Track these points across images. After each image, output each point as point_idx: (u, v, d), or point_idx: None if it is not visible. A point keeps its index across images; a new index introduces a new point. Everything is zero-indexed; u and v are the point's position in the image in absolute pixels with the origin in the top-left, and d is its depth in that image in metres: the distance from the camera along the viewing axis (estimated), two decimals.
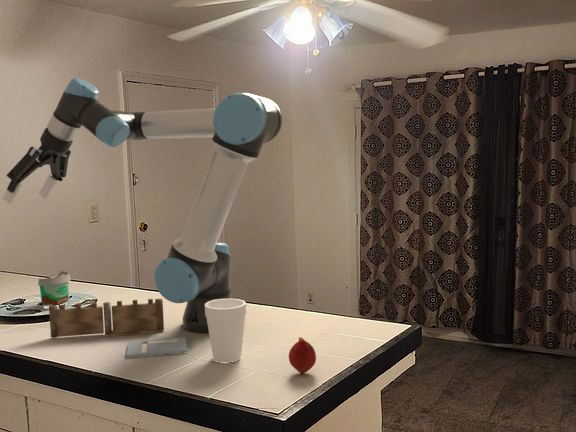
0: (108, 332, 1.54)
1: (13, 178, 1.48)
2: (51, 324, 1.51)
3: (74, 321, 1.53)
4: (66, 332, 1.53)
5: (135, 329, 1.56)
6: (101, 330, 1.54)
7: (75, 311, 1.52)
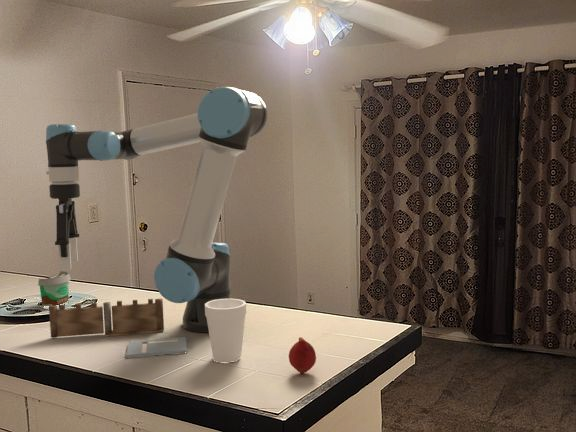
0: (108, 332, 1.54)
1: (65, 239, 1.49)
2: (51, 324, 1.51)
3: (74, 321, 1.53)
4: (66, 332, 1.53)
5: (135, 329, 1.56)
6: (101, 330, 1.54)
7: (75, 311, 1.52)
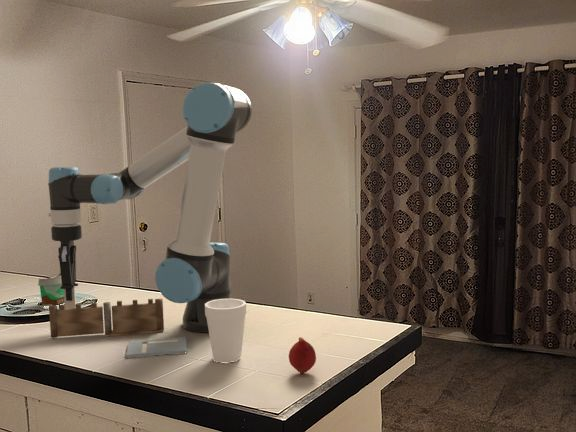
0: (108, 332, 1.54)
1: (70, 284, 1.55)
2: (51, 324, 1.51)
3: (74, 321, 1.53)
4: (66, 332, 1.53)
5: (135, 329, 1.56)
6: (101, 330, 1.54)
7: (75, 311, 1.52)
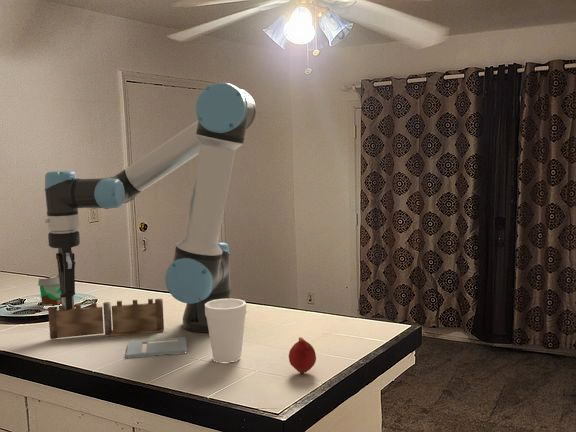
0: (108, 332, 1.54)
1: (73, 292, 1.50)
2: (51, 325, 1.50)
3: (74, 321, 1.52)
4: (65, 333, 1.52)
5: (135, 329, 1.56)
6: (101, 330, 1.54)
7: (75, 312, 1.52)
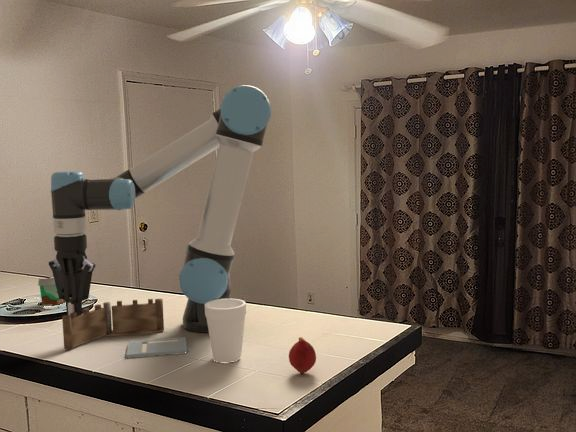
0: (108, 332, 1.54)
1: (87, 296, 1.45)
2: (68, 335, 1.42)
3: (85, 327, 1.47)
4: (79, 340, 1.46)
5: (135, 329, 1.56)
6: (105, 331, 1.53)
7: (86, 316, 1.47)
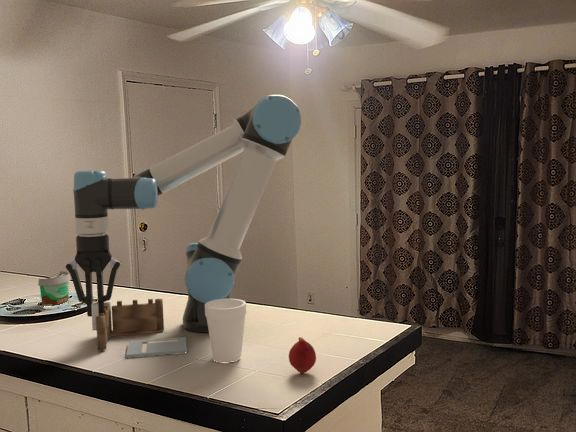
0: None
1: (110, 294, 1.45)
2: (104, 335, 1.41)
3: (106, 327, 1.47)
4: None
5: (135, 329, 1.56)
6: (109, 330, 1.54)
7: (106, 316, 1.47)
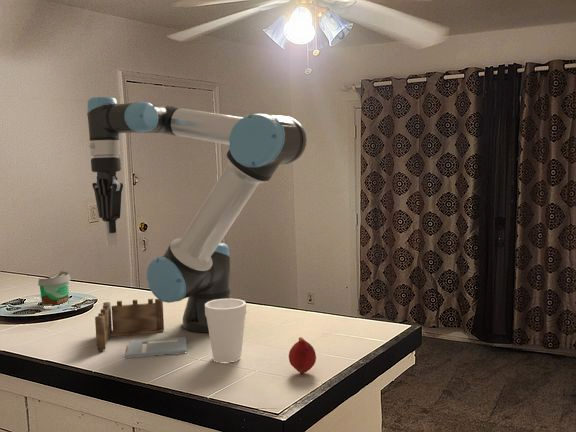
0: None
1: (118, 215, 1.55)
2: (103, 335, 1.41)
3: (105, 327, 1.47)
4: (105, 340, 1.45)
5: (135, 329, 1.56)
6: (109, 330, 1.54)
7: (105, 316, 1.47)
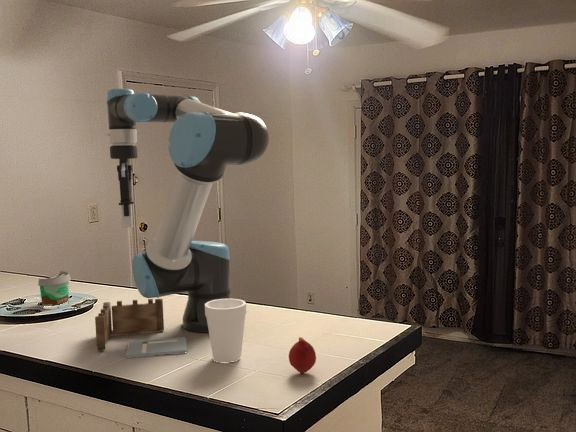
0: None
1: (128, 200, 1.65)
2: (103, 335, 1.41)
3: (105, 327, 1.47)
4: (105, 340, 1.45)
5: (135, 329, 1.56)
6: (109, 330, 1.54)
7: (105, 316, 1.47)
